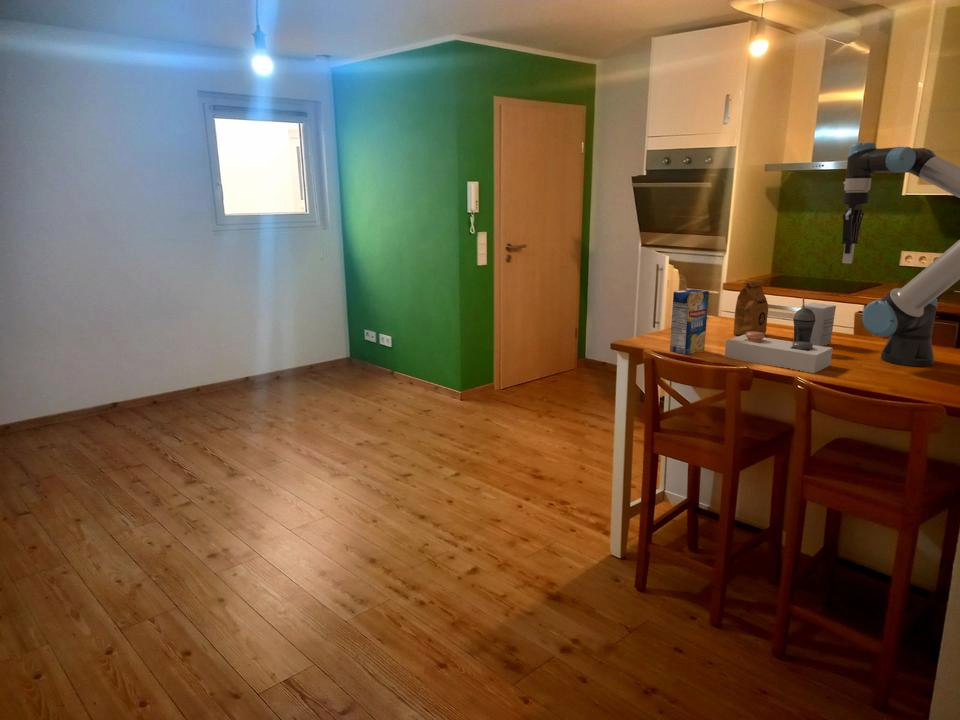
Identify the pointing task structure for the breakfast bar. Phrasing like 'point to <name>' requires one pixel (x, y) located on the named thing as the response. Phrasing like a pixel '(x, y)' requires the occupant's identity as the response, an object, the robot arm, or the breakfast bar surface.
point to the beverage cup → (803, 324)
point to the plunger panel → (779, 354)
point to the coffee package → (751, 309)
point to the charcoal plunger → (802, 345)
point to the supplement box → (821, 323)
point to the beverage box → (689, 321)
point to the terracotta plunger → (755, 336)
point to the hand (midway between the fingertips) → (847, 263)
